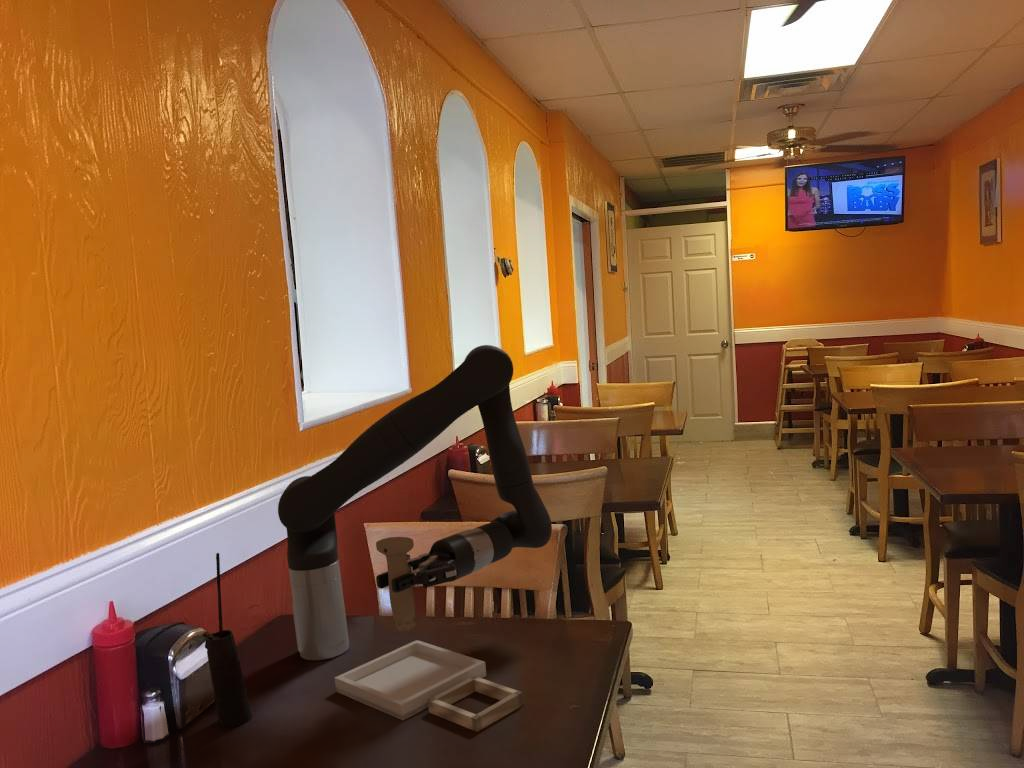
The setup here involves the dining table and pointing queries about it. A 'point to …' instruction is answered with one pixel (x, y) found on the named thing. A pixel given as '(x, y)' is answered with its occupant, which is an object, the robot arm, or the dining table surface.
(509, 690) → the wooden square frame
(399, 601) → the handle
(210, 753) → the dining table surface
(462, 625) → the dining table surface
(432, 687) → the tray
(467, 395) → the robot arm
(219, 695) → the butter churn
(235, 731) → the dining table surface
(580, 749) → the dining table surface
